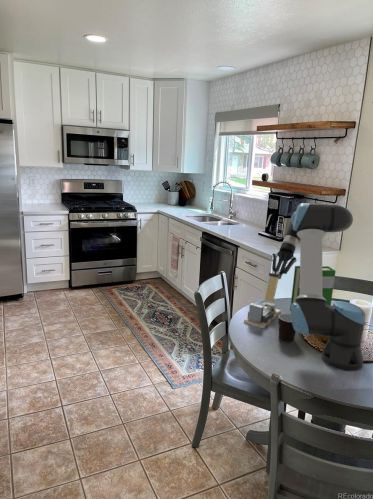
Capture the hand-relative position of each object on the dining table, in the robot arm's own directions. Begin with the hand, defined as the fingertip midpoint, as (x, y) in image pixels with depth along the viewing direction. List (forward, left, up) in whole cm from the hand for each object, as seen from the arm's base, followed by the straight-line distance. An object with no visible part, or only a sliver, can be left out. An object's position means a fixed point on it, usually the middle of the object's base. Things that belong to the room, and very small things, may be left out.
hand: (274, 283), depth 196 cm
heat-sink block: (-14, 0, -13) cm, 19 cm away
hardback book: (+7, -17, -14) cm, 24 cm away
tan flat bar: (-6, 0, -8) cm, 10 cm away
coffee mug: (-26, -17, -14) cm, 34 cm away
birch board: (-13, 0, -14) cm, 19 cm away
